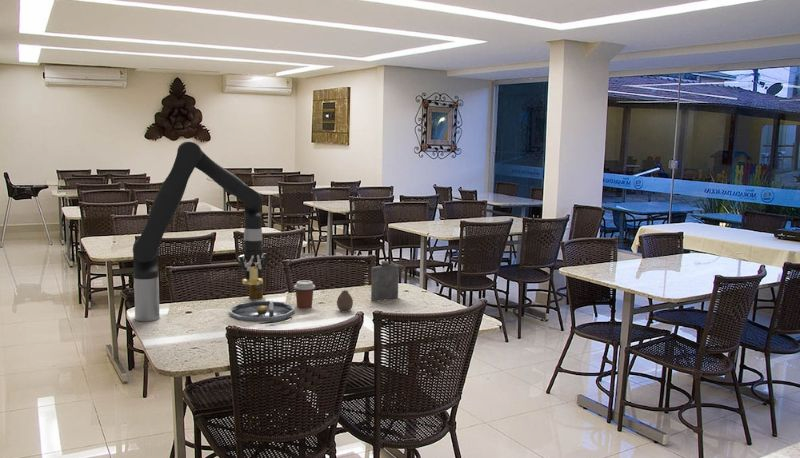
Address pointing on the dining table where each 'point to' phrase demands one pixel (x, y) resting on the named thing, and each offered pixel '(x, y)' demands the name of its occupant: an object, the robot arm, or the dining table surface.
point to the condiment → (256, 291)
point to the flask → (384, 281)
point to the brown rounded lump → (344, 301)
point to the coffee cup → (304, 293)
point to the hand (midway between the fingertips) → (252, 278)
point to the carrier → (262, 311)
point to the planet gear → (253, 277)
